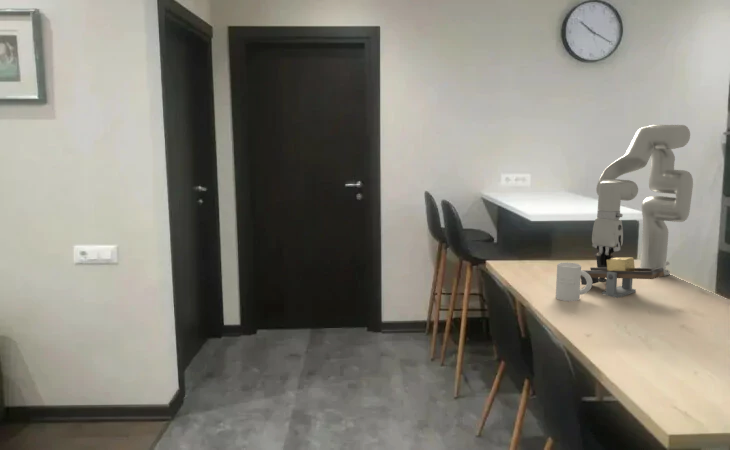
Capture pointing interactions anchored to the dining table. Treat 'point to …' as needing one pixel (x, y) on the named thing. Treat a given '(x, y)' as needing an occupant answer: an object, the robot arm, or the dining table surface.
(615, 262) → the block
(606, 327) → the dining table surface
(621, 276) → the beam
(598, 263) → the sundae
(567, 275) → the mug
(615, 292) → the pivot stand
